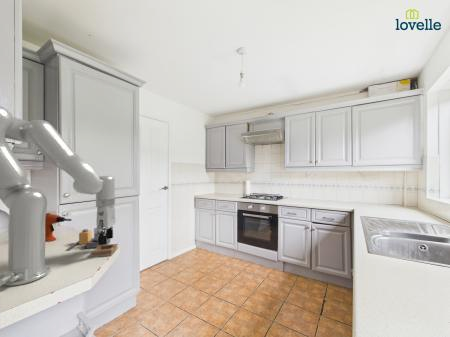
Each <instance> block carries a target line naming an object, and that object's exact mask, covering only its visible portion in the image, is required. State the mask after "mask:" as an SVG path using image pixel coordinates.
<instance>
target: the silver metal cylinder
mask: <svg viewBox="0 0 450 337" xmlns="http://www.w3.org/2000/svg"><path fill="white" fill-rule="evenodd" d="M102 228H104V227H102ZM102 231H103V232H104V230H102ZM93 238H94V242H98V232H97V227H95V228H94V229H93Z"/></svg>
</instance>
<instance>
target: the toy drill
mask: <svg viewBox="0 0 450 337" xmlns="http://www.w3.org/2000/svg"><path fill="white" fill-rule="evenodd" d="M64 222H72V218H66V217H64V216H60V215H57V214H51V213H49V212H48V213H47V212H46V217H45V243H47V242H48V243H50V242H54V241H57V238H56V237H55V236H54V235H53V232H54V231H55V228H54V225H53V224H58V223H64Z"/></svg>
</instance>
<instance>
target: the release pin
mask: <svg viewBox="0 0 450 337" xmlns="http://www.w3.org/2000/svg"><path fill="white" fill-rule="evenodd" d="M91 238H92V230H89V229H88V228H83V230H82V231H81V232H79V233H78V241H79V244H78V245H79V246H85V245H86V243H87V242H89V241H90V240H91Z"/></svg>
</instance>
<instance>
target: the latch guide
mask: <svg viewBox="0 0 450 337" xmlns="http://www.w3.org/2000/svg"><path fill="white" fill-rule="evenodd" d="M93 238H94V237H91V240H92V239H93ZM78 245H79V240H78V241H76V242H75V243H73V244H72V245H70V246H69V247H67V251H68V252H69V251H71V250H73V249H74V248H76V247H77V246H78ZM81 248H82V249H81V250H82V251H83V250H85V249H86V245H82V247H81Z"/></svg>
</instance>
